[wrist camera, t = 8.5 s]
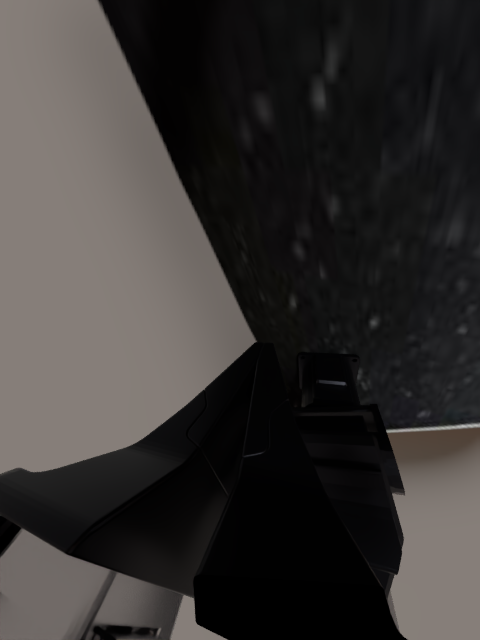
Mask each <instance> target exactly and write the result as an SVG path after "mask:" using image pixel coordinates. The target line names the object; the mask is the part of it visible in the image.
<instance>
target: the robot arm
mask: <svg viewBox="0 0 480 640" xmlns="http://www.w3.org/2000/svg"><path fill="white" fill-rule="evenodd" d="M301 356H304V357H301ZM353 359H355V360H353ZM298 362H299V384H300V389H301V390H302V405H301V407H295V408H291V405H290V401H289V398H288V394H287V391H286V387H285V384H284V380H283V376H282V373H281V369H280V366H279V362H278V359H277V355H276V351H275V348H274V344H273V343H262V342H255V343H254V344H253V345H252V346H251V347H249V348H248V349H247V350H246V351H245V352H244V353H243V354H242V355H241V356H240V357H239V358H238V359H236V360H235V361H234V362H233V363H232V364H231V365H230V366H229V367H228V368H227V369H226V370H224V372H222V373H221V374H220V375H219V376H218V377H217V378H216V379H215V380H214V381H213V382H211V383H210V384H209V385H208V386H207V387H206V388H205V390H203V391H202V392H200V393H199V394H198V395H197V396H196V397H195V398H194V399H193V400H192V401H190V402H189V403H188V404H187V405H186V406H184V408H182V409H181V410H180V411H178V412H177V413H176V414H174V415H173V416H172V417H171V418H169V419H168V420H167V421H166V422H164V423H163V424H162V425H160V426H159V427H158V428H156V429H155V430H154V431H152V432H151V433H150V434H149V435H147V436H146V437H144V438H143V439H142V440H140V441H138V442H137V443H135V444H133V445H131V446H129V447H126V448H123V449H120V450H117V451H113V452H110V453H107V454H103V455H100V456H97V457H93V458H91V459H87V460H83V461H80V462H77V463H74V464H70V465H67V466H64V467H60V468H57V469H53V470H49V471H44V472H30V471H27V470H25V469H22V468H15V469H13V470H10V471H7V472H4V473H2V474H0V640H170V639H171V636H172V633H173V629H174V626H175V622H176V619H177V616H178V612H179V609H180V606H181V603H182V599H183V596H184V595H186V596H189V597H192V598H194V601H195V618H196V623H197V624H198V625H200V626H202V627H204V628H206V629H208V630H210V631H212V632H214V633H216V634H218V635H220V636H222V637H224V638H226V639H228V640H407V639H406V638H404V637H403V636H402V635H401V634H400V632H399V627H398V623H397V618H396V614H395V610H394V605H393V601H392V596H391V592H390V588H391V585H392V581H393V578H394V574H395V575H397V574H398V571H399V566H400V561H401V556H402V546H403V541H404V539H403V538H404V537H403V533H402V529H401V525H400V522H399V518H398V514H397V511H396V507H395V503H394V500H393V496H392V493H394V494H399V495H405V491H404V487H403V483H402V480H401V476H400V473H399V470H398V466H397V463H396V459H395V456H394V453H393V450H392V447H391V444H390V441H389V438H388V435H387V432H386V429H385V426H384V423H383V421H382V418H381V415H380V412H379V409H378V406H377V404H370V405H360V401H359V397H358V393H357V389H356V380H357V375H358V369H359V363H360V359H359V356H357V355H350V354H328V353H305V352H302V353H299V355H298Z"/></svg>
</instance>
